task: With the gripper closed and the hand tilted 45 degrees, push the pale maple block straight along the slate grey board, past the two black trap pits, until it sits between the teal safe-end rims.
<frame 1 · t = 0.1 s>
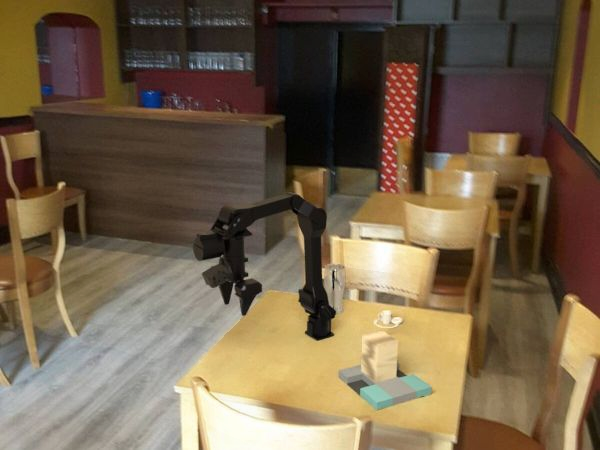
hand: (235, 309, 166), 15 cm above the table, tool pointing down, fingers open, 9 cm apart
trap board: (383, 385, 157), on the table
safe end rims: (395, 395, 152), on the table
teacup and saucer: (392, 328, 192), on the table
maple block: (378, 373, 158), point 2 cm above the table, touching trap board
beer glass: (334, 311, 203), on the table
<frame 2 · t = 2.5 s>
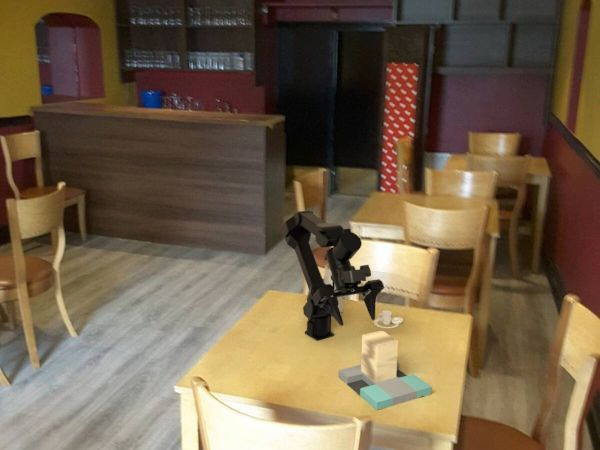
hand: (358, 322, 161), 14 cm above the table, tool tilted 40°, fingers open, 9 cm apart
nothing on the table moved.
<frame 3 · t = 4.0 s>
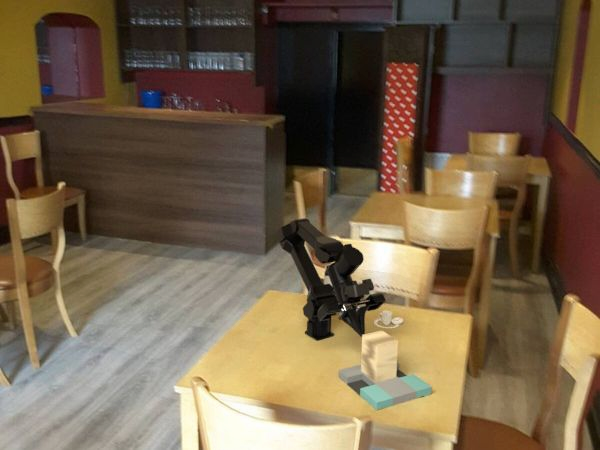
hand: (363, 336, 163), 9 cm above the table, tool tilted 45°, fingers closed
nothing on the table moved.
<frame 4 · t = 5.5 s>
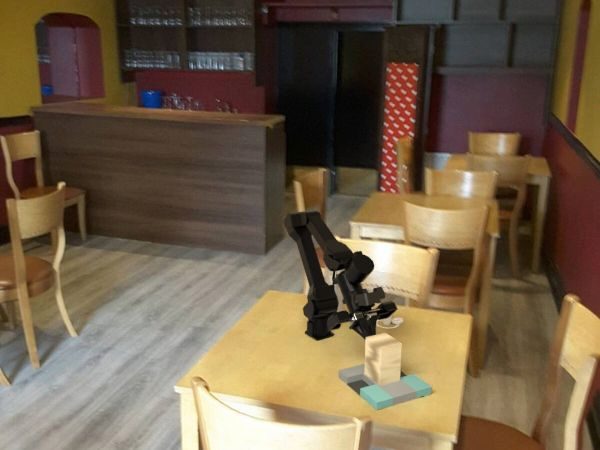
hand: (374, 345, 159), 9 cm above the table, tool tilted 45°, fingers closed
maple block: (381, 376, 157), point 2 cm above the table
everything else where it was.
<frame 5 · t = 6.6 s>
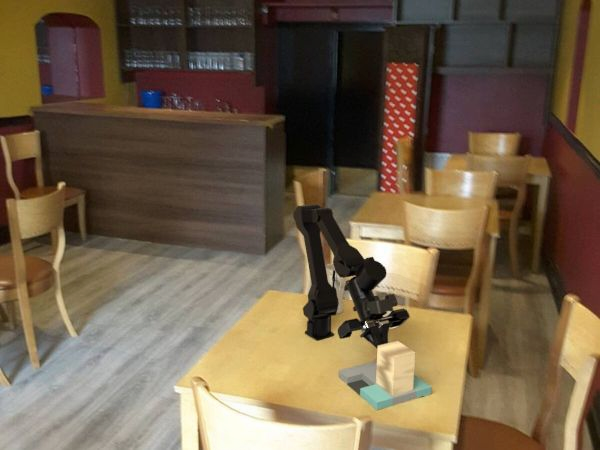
hand: (386, 354, 154), 9 cm above the table, tool tilted 45°, fingers closed
maple block: (394, 386, 153), point 2 cm above the table, touching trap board
everything else where it was.
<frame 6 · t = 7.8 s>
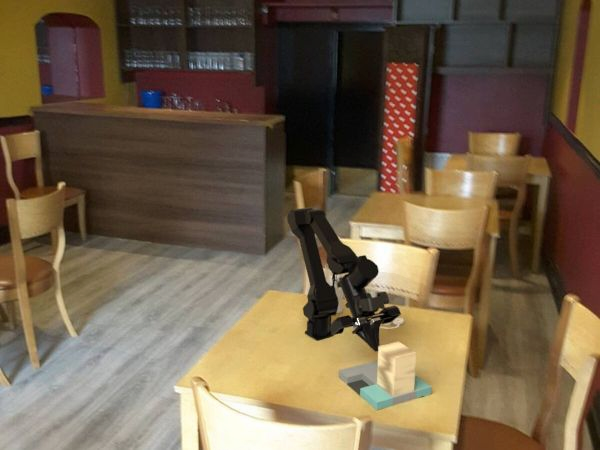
hand: (377, 351, 158), 8 cm above the table, tool tilted 45°, fingers closed
nothing on the table moved.
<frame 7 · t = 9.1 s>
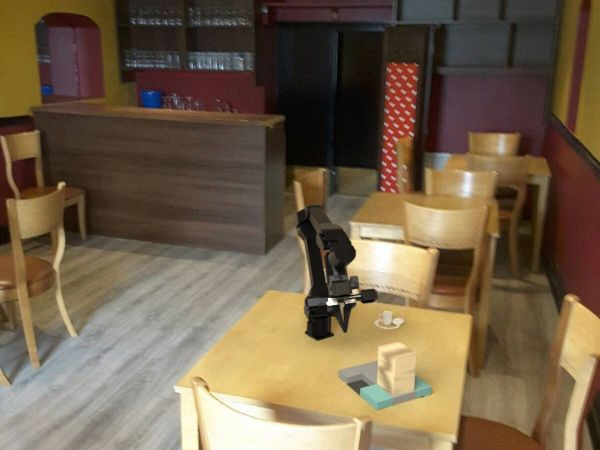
hand: (345, 332, 159), 12 cm above the table, tool tilted 35°, fingers closed
nothing on the table moved.
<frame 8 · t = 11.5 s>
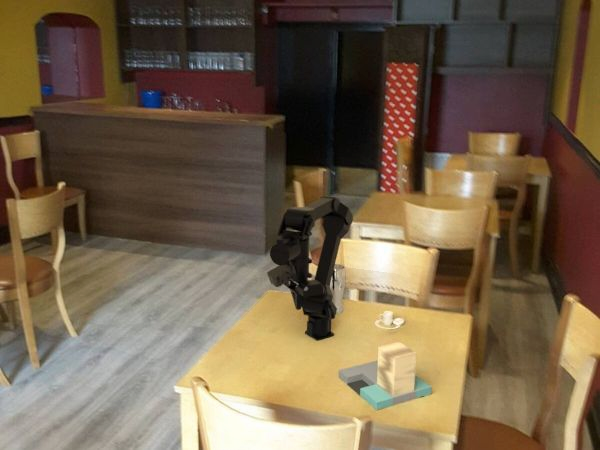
hand: (298, 309, 171), 13 cm above the table, tool pointing down, fingers closed
nothing on the table moved.
at the end: maple block 0.3 cm from the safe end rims (horizontally); maple block tilted 0°; maple block point 2.0 cm above the table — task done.
